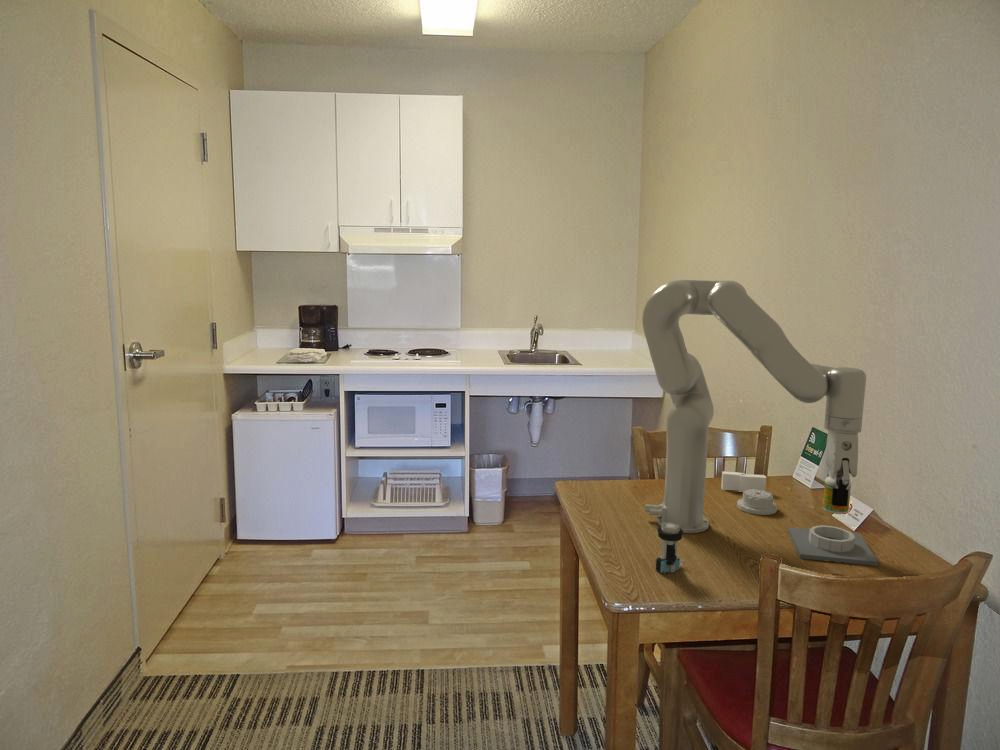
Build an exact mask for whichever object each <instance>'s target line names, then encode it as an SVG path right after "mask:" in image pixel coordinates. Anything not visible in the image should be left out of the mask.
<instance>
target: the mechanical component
mask: <svg viewBox="0 0 1000 750" xmlns="http://www.w3.org/2000/svg"><path fill="white" fill-rule="evenodd" d="M736 505H737V508H738V509H739V510H740V511H742V512H744V513H748V514H752V515H759V516H768V515H773V514H776V513H777V512H778V505H777V504H776V503H775V502H774V495H773V493H771V492H770V491H767V490H766V491H764V490H757V489H755V490H754V489H752V490H750V489H749V490H747V491H744V492H743V493H742V498H740V499H738V500H737V503H736Z"/></svg>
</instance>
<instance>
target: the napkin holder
mask: <svg viewBox="0 0 1000 750" xmlns="http://www.w3.org/2000/svg"><path fill="white" fill-rule="evenodd" d="M720 488H721V490H722V491H725V490H739V491H738V493H739V492H744V491H747V490H749V489H750V490H752V489H754V490H755V489H757V490H764V491H766V492H767V490H766V489H767V476H766V475H764V474H754V473H753V474H750V473H749V474H748V473H744V472H737V471H724V470H723V471H721V486H720Z"/></svg>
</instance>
